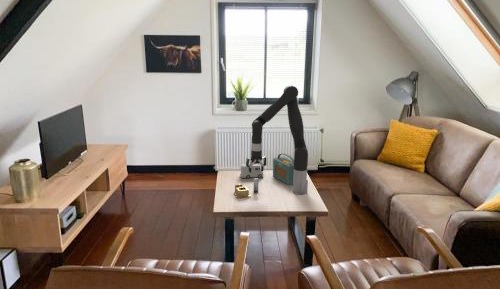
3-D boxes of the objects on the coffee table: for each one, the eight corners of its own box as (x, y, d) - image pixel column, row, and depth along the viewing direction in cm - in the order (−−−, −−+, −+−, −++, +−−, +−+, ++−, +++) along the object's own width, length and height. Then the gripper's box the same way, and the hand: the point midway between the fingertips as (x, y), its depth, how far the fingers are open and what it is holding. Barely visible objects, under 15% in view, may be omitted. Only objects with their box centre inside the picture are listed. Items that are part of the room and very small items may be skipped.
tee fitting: (244, 190, 262) (244, 183, 261) (250, 197, 250) (250, 190, 249) (232, 192, 259) (232, 185, 258) (238, 198, 247) (238, 191, 246)
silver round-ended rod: (257, 191, 261) (257, 177, 259) (259, 192, 258) (259, 179, 256) (252, 191, 260) (252, 178, 258) (254, 193, 257) (254, 179, 255)
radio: (271, 175, 296) (272, 151, 291) (283, 174, 300) (284, 150, 295) (288, 185, 273) (289, 159, 268) (300, 183, 277) (301, 158, 273)
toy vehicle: (263, 177, 291) (264, 165, 288) (241, 179, 287) (241, 166, 285) (261, 174, 299) (261, 162, 297) (239, 175, 296) (239, 163, 293)
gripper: (264, 147, 258) (263, 169, 261) (244, 148, 253) (244, 171, 257) (268, 150, 251) (267, 172, 254) (248, 151, 246) (248, 174, 250)
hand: (256, 171), depth 256 cm, fingers open, 8 cm apart
